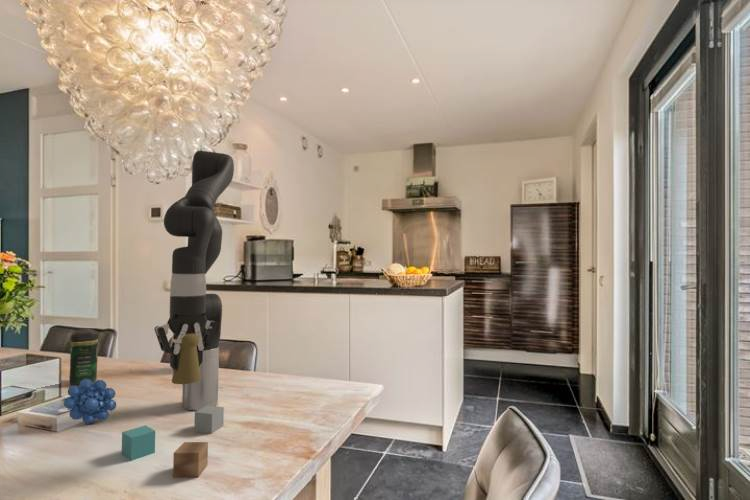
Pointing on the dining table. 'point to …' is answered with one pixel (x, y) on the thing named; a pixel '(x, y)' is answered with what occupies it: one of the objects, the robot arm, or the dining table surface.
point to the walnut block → (190, 460)
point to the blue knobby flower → (90, 401)
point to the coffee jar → (83, 356)
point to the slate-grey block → (209, 419)
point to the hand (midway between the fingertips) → (186, 367)
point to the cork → (187, 361)
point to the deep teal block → (138, 442)
